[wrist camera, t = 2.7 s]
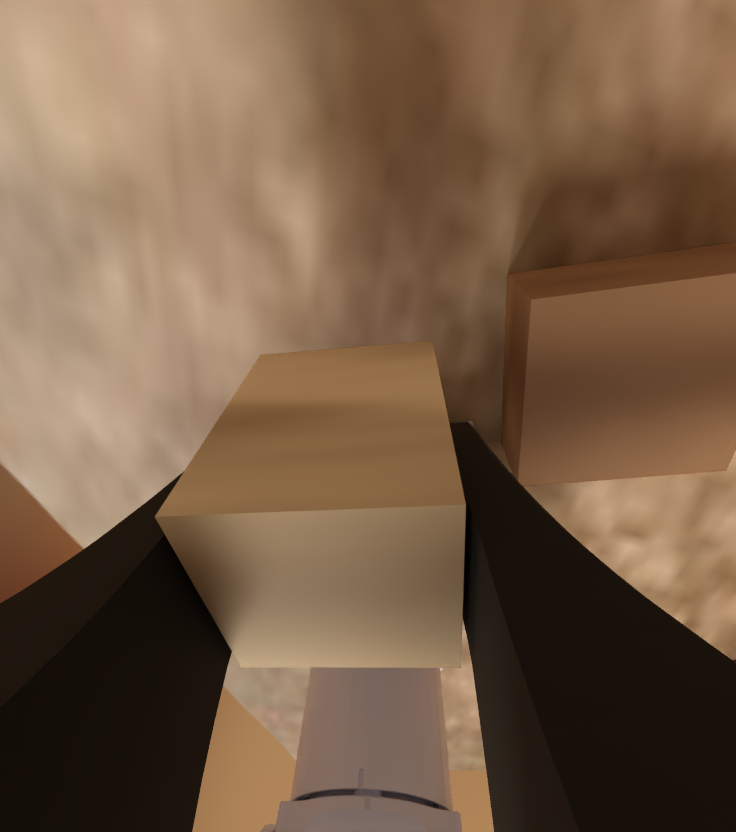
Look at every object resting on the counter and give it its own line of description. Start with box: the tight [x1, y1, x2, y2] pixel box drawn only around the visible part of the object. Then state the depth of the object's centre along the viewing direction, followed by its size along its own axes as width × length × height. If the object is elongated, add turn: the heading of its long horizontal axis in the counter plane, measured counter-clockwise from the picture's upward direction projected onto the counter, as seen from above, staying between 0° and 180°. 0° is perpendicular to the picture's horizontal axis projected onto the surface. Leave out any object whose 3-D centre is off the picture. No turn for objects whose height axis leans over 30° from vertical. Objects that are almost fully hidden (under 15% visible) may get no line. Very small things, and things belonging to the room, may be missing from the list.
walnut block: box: [501, 242, 736, 486], centre depth 14 cm, size 7×7×3 cm
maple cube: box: [155, 341, 466, 668], centre depth 8 cm, size 4×4×5 cm
